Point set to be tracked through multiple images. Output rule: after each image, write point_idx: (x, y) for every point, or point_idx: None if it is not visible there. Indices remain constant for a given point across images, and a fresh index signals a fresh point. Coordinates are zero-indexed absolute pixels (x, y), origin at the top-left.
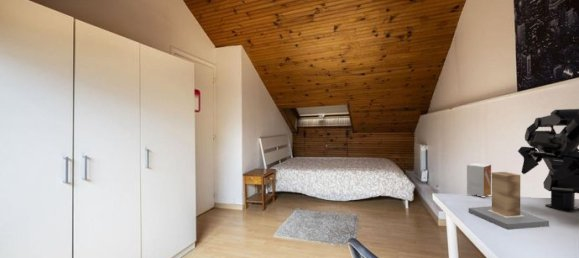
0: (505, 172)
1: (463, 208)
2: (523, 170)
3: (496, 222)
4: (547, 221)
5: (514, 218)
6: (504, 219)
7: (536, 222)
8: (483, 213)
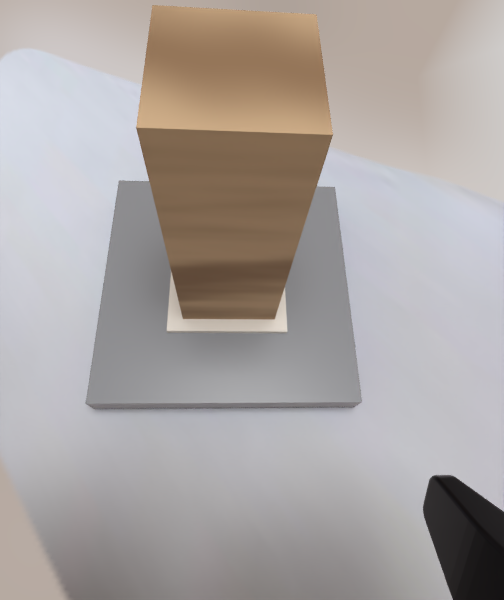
0: (294, 109)
1: (381, 216)
2: (450, 496)
3: None
4: (88, 393)
5: (165, 265)
6: None
7: (98, 323)
8: None
